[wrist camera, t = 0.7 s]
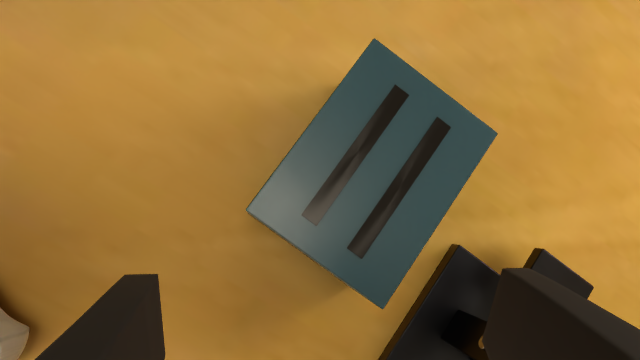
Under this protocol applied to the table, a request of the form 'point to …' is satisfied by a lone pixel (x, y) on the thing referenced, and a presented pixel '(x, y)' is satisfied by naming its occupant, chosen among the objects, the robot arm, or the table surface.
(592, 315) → the robot arm
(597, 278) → the table surface
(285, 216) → the toaster
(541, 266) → the lever
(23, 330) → the red grey lobed slab
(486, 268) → the bracket
